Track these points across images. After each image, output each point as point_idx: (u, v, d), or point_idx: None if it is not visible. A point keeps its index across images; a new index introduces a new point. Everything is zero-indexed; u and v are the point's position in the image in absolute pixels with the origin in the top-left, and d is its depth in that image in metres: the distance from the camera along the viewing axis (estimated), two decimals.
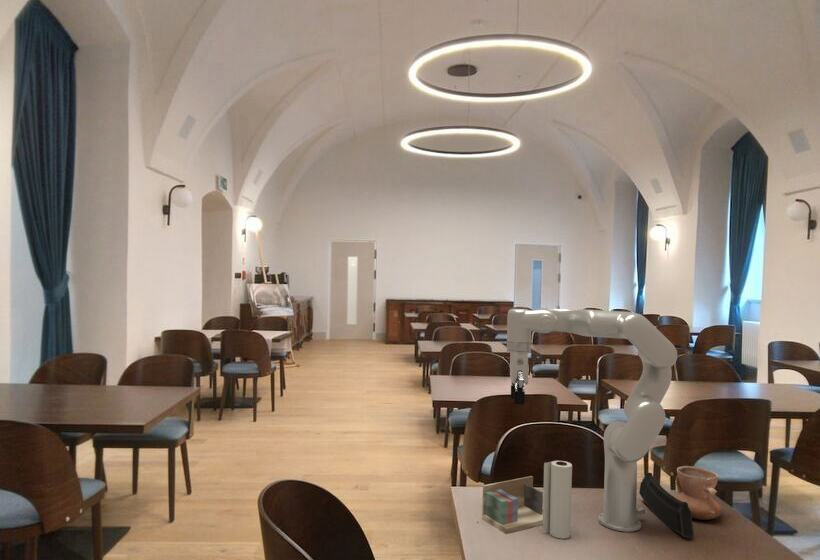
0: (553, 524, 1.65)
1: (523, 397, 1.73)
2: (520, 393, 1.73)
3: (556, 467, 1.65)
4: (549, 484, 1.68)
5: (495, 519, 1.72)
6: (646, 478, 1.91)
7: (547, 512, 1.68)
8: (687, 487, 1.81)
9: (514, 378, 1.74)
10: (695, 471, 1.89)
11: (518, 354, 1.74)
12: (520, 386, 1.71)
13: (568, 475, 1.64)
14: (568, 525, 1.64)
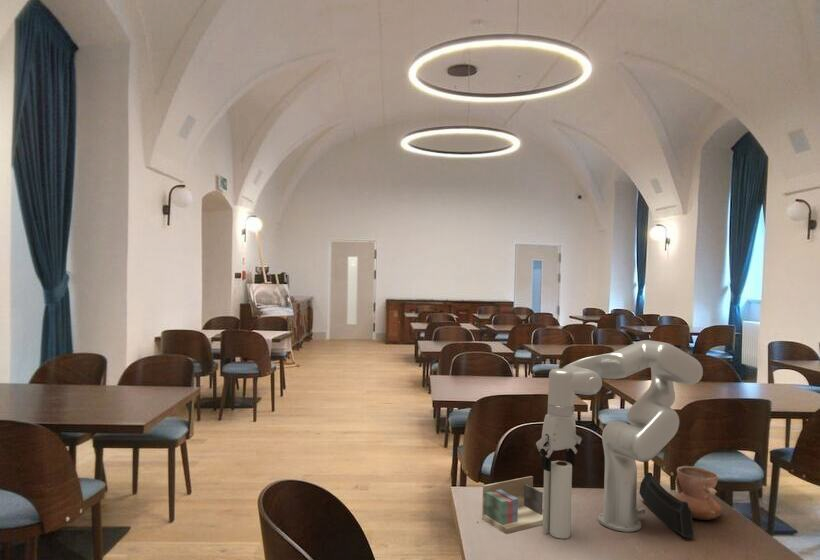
0: (554, 524, 1.65)
1: None
2: None
3: (556, 467, 1.65)
4: (549, 484, 1.68)
5: (495, 519, 1.72)
6: (646, 478, 1.91)
7: (547, 512, 1.68)
8: (687, 487, 1.81)
9: None
10: (695, 471, 1.89)
11: None
12: None
13: (568, 475, 1.64)
14: (568, 525, 1.64)
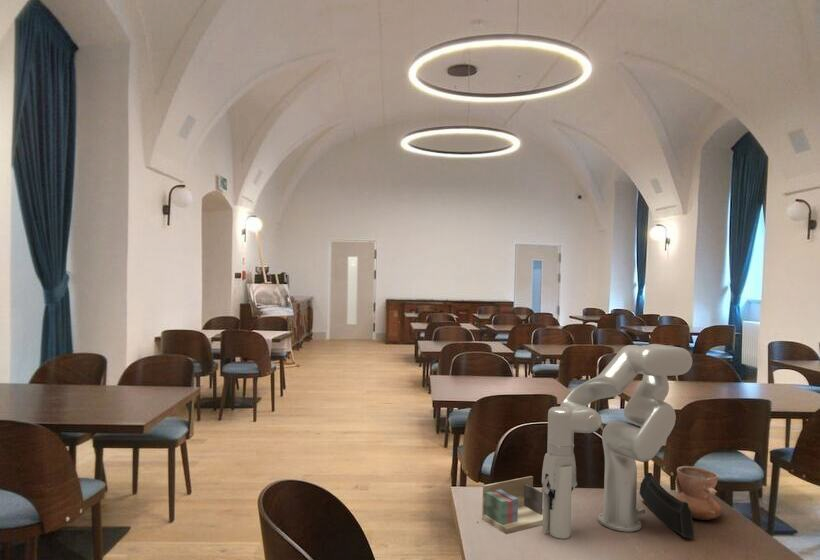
0: (553, 524, 1.65)
1: None
2: None
3: None
4: None
5: (495, 519, 1.72)
6: (646, 478, 1.91)
7: (547, 512, 1.68)
8: (687, 487, 1.81)
9: None
10: (695, 471, 1.89)
11: None
12: None
13: (568, 475, 1.64)
14: (568, 525, 1.64)
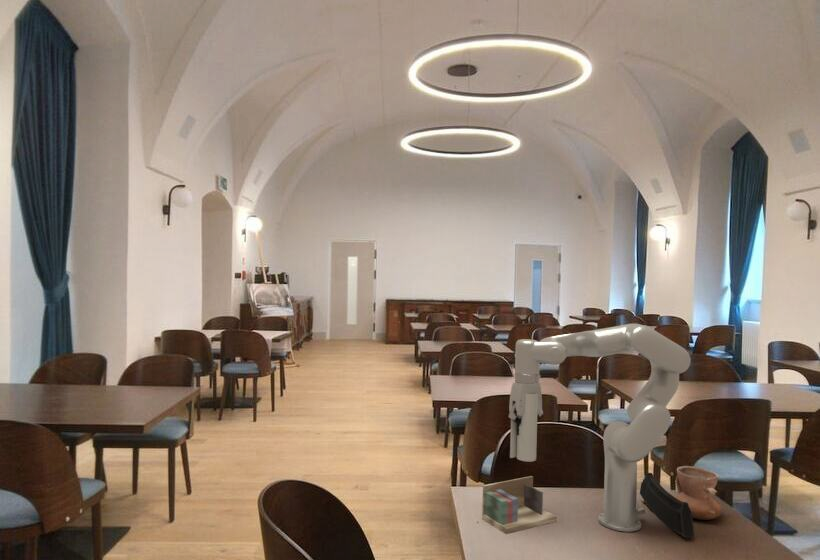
0: (520, 449, 1.74)
1: None
2: None
3: None
4: None
5: (495, 519, 1.72)
6: (646, 478, 1.90)
7: (515, 438, 1.77)
8: (687, 487, 1.81)
9: None
10: (695, 471, 1.89)
11: None
12: None
13: (534, 402, 1.74)
14: (534, 449, 1.74)
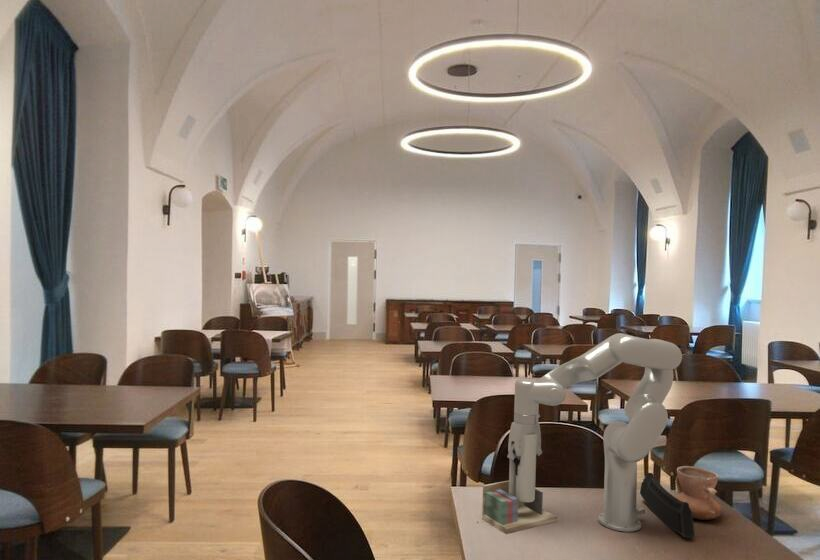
0: (518, 489, 1.74)
1: None
2: None
3: None
4: None
5: (495, 519, 1.72)
6: (647, 478, 1.90)
7: (513, 478, 1.77)
8: (687, 487, 1.81)
9: None
10: (695, 471, 1.89)
11: None
12: None
13: (533, 442, 1.74)
14: (532, 490, 1.74)
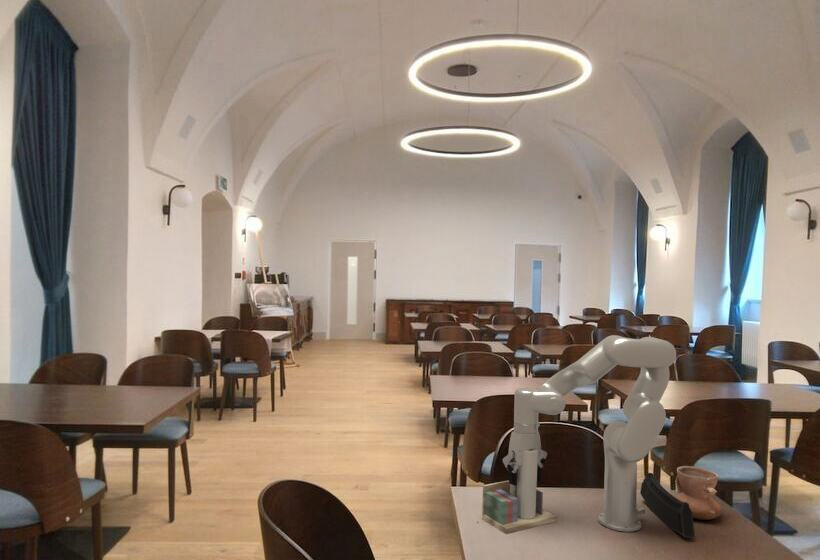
0: (519, 505, 1.74)
1: None
2: None
3: None
4: None
5: (495, 519, 1.72)
6: (647, 479, 1.90)
7: (514, 494, 1.77)
8: (687, 487, 1.81)
9: None
10: (695, 471, 1.89)
11: None
12: None
13: (534, 459, 1.73)
14: (533, 506, 1.74)
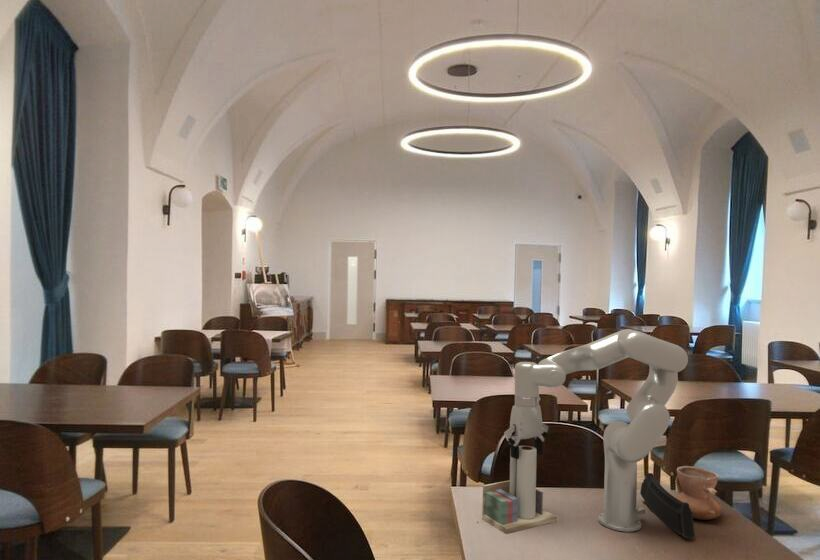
0: (519, 505, 1.74)
1: None
2: None
3: (521, 451, 1.74)
4: (515, 468, 1.78)
5: (495, 519, 1.72)
6: (647, 479, 1.90)
7: (514, 494, 1.77)
8: (687, 487, 1.81)
9: None
10: (695, 471, 1.89)
11: None
12: None
13: (533, 459, 1.74)
14: (533, 506, 1.74)
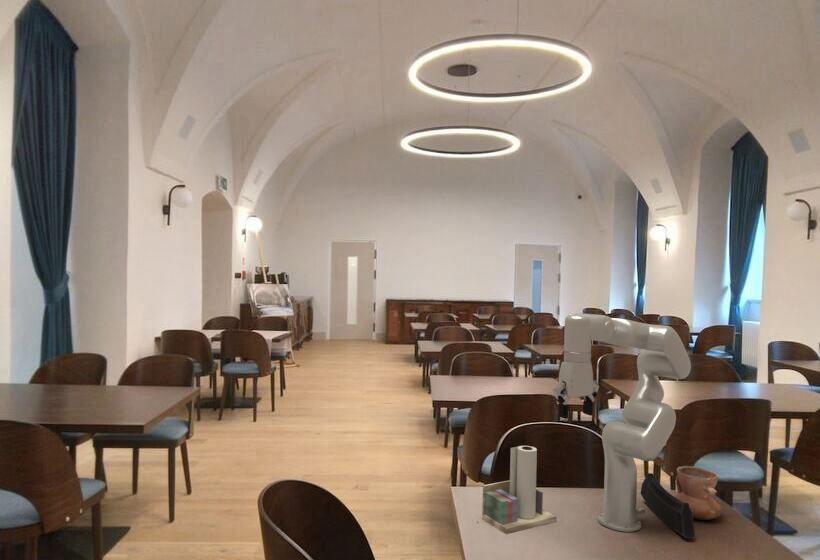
0: (519, 505, 1.74)
1: None
2: None
3: (521, 451, 1.74)
4: (515, 468, 1.78)
5: (495, 519, 1.72)
6: (647, 479, 1.90)
7: (514, 494, 1.77)
8: (687, 487, 1.81)
9: None
10: (695, 471, 1.89)
11: None
12: None
13: (533, 459, 1.74)
14: (533, 506, 1.74)
